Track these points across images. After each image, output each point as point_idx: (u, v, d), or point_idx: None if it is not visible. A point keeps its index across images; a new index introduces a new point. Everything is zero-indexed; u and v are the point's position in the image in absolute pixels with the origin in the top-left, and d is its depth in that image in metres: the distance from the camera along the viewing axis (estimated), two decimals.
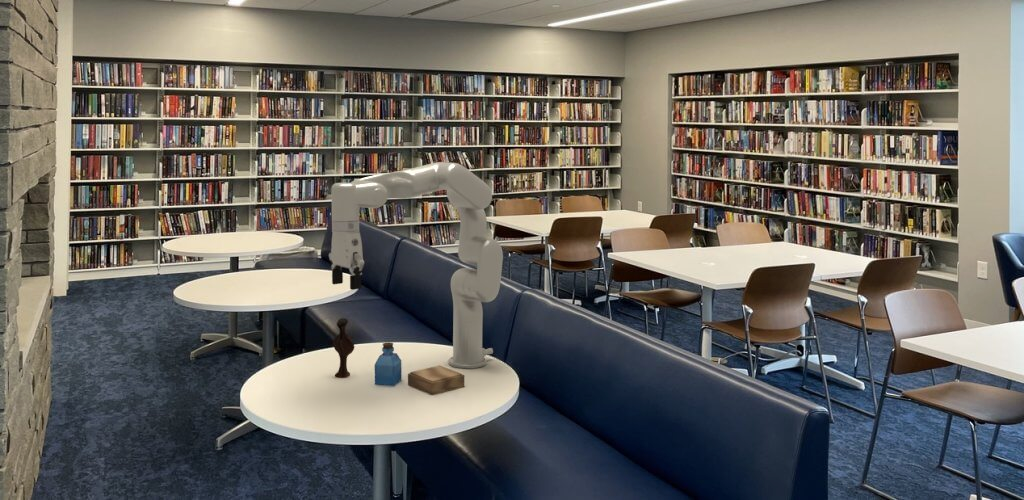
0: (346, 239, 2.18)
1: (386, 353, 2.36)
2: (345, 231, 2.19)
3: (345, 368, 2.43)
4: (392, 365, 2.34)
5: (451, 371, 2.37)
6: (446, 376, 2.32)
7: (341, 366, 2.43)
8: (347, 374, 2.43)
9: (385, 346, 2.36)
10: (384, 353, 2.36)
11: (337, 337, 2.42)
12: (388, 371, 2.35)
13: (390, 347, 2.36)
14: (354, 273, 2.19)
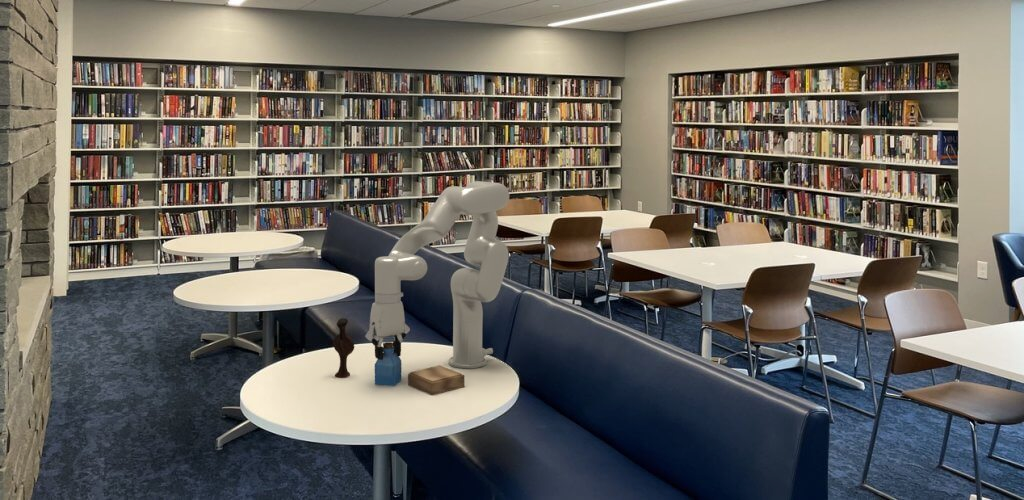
0: (402, 307, 2.36)
1: (386, 353, 2.36)
2: (400, 300, 2.36)
3: (345, 368, 2.43)
4: (392, 365, 2.34)
5: (451, 371, 2.37)
6: (446, 376, 2.32)
7: (341, 366, 2.43)
8: (347, 374, 2.43)
9: (385, 346, 2.36)
10: (384, 353, 2.36)
11: (337, 337, 2.42)
12: (388, 371, 2.35)
13: (390, 347, 2.36)
14: None
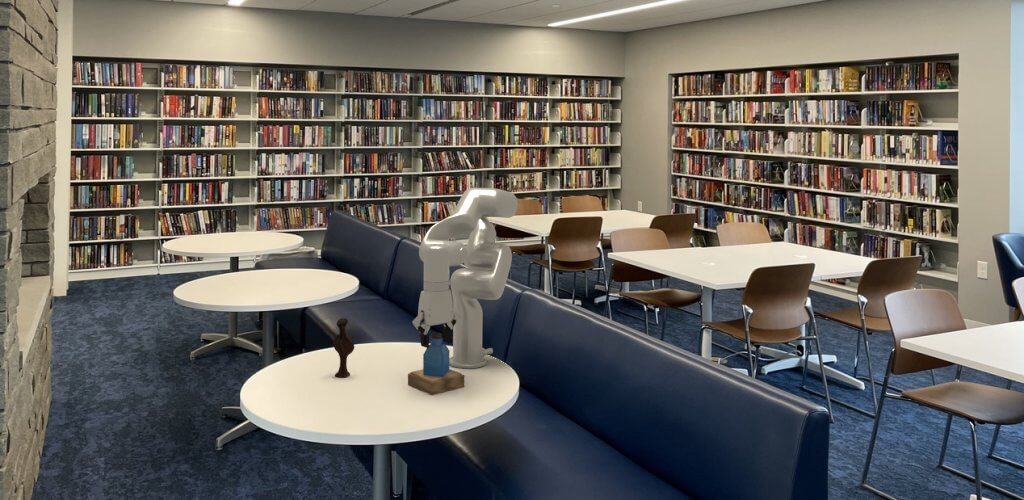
0: (450, 295, 2.33)
1: (435, 343, 2.33)
2: None
3: (345, 368, 2.43)
4: (441, 355, 2.31)
5: (451, 371, 2.37)
6: (446, 376, 2.32)
7: (341, 366, 2.43)
8: (347, 374, 2.43)
9: (434, 336, 2.32)
10: (433, 343, 2.33)
11: (337, 337, 2.42)
12: (437, 362, 2.32)
13: (439, 337, 2.33)
14: None
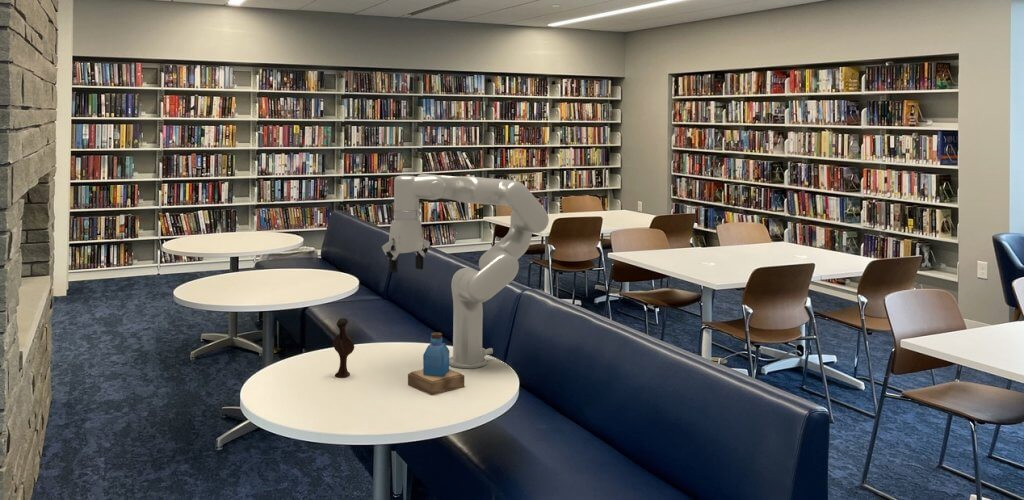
0: (420, 225, 2.45)
1: (435, 343, 2.33)
2: (418, 218, 2.44)
3: (345, 368, 2.43)
4: (441, 355, 2.31)
5: (451, 371, 2.37)
6: (446, 376, 2.32)
7: (341, 366, 2.43)
8: (347, 374, 2.43)
9: (434, 336, 2.32)
10: (433, 343, 2.33)
11: (337, 337, 2.42)
12: (437, 362, 2.32)
13: (439, 337, 2.33)
14: None
